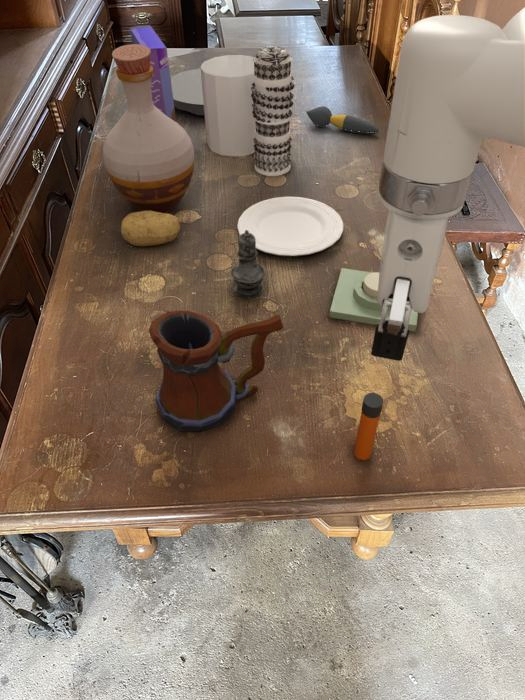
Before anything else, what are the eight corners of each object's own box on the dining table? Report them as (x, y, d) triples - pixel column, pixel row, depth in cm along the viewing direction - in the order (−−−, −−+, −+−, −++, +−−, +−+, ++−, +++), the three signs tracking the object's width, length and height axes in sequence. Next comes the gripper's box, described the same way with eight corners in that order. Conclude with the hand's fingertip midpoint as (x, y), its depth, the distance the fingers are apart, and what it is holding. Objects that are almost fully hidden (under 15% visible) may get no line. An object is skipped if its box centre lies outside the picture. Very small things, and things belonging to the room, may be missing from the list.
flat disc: (273, 115, 146) (273, 98, 143) (170, 127, 142) (168, 109, 139) (251, 78, 165) (251, 63, 162) (160, 88, 161) (157, 72, 158)
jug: (121, 181, 122) (88, 33, 101) (200, 177, 123) (184, 29, 102) (110, 230, 109) (70, 70, 87) (199, 225, 109) (181, 65, 88)
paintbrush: (380, 129, 139) (383, 110, 135) (377, 138, 136) (380, 118, 132) (306, 120, 144) (307, 101, 140) (301, 128, 140) (302, 108, 137)
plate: (334, 269, 98) (335, 261, 97) (225, 255, 102) (224, 247, 101) (349, 210, 113) (349, 201, 111) (252, 199, 116) (251, 191, 115)
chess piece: (229, 297, 93) (225, 239, 85) (235, 276, 97) (231, 218, 89) (263, 300, 93) (262, 241, 84) (267, 279, 97) (267, 221, 88)
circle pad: (394, 282, 92) (396, 274, 90) (391, 301, 88) (393, 293, 87) (364, 278, 93) (366, 270, 91) (360, 296, 89) (362, 288, 88)
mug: (274, 361, 83) (274, 285, 72) (289, 421, 75) (292, 345, 64) (156, 377, 81) (138, 300, 70) (158, 440, 73) (138, 365, 62)
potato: (126, 234, 108) (120, 206, 103) (182, 231, 108) (178, 203, 104) (122, 253, 103) (116, 225, 98) (181, 250, 103) (177, 222, 99)
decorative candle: (298, 162, 127) (303, 45, 109) (281, 180, 122) (283, 60, 104) (264, 154, 130) (262, 40, 112) (246, 171, 125) (241, 53, 107)
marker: (372, 447, 72) (384, 394, 64) (370, 462, 70) (382, 409, 62) (355, 444, 72) (365, 390, 64) (352, 458, 70) (362, 405, 63)
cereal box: (180, 156, 131) (166, 46, 113) (161, 159, 130) (143, 49, 112) (165, 127, 142) (150, 24, 125) (147, 130, 141) (129, 26, 124)
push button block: (420, 286, 95) (423, 272, 93) (415, 331, 87) (418, 318, 85) (340, 274, 98) (342, 260, 95) (328, 317, 90) (330, 303, 87)
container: (275, 137, 137) (275, 60, 124) (246, 161, 128) (243, 81, 115) (227, 126, 142) (222, 51, 129) (196, 148, 133) (187, 70, 120)
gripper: (465, 244, 41) (420, 391, 53) (470, 144, 52) (432, 283, 64) (365, 230, 42) (344, 375, 54) (391, 135, 54) (369, 273, 66)
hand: (391, 325), depth 59 cm, fingers open, 9 cm apart
